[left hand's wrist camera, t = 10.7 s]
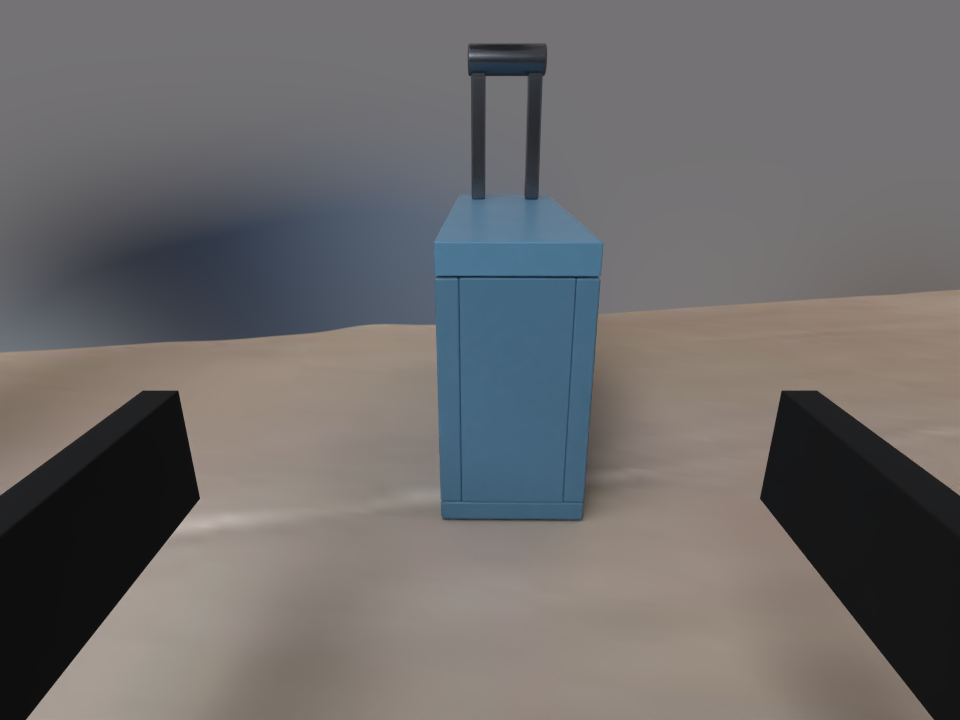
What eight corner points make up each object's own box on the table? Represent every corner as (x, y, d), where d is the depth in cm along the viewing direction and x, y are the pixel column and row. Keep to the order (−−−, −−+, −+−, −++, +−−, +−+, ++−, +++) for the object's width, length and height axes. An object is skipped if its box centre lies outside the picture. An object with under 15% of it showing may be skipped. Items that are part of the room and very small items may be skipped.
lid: (459, 213, 33) (457, 51, 31) (547, 213, 33) (553, 51, 30) (434, 276, 18) (425, -47, 15) (600, 276, 18) (625, -47, 15)
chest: (460, 359, 36) (458, 215, 33) (542, 360, 36) (547, 215, 33) (441, 519, 21) (434, 278, 18) (582, 520, 21) (601, 278, 18)
